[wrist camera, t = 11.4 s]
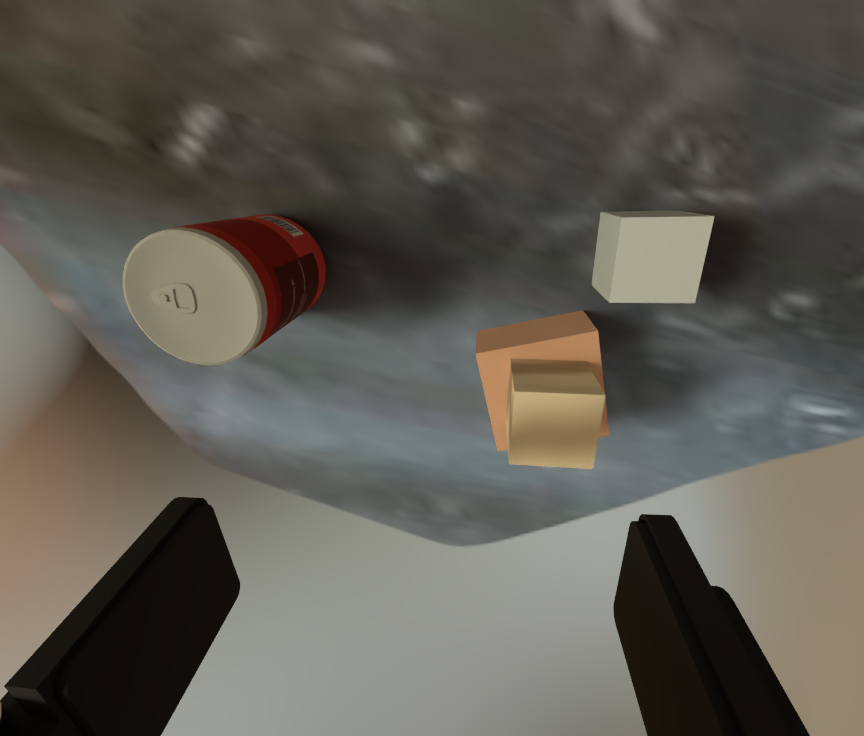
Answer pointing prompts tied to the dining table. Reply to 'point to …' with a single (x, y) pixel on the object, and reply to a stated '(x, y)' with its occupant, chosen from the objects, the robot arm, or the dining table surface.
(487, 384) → the terracotta block
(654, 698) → the robot arm
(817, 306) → the dining table surface
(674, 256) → the pale green-grey cube
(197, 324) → the canned food
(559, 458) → the maple cube
